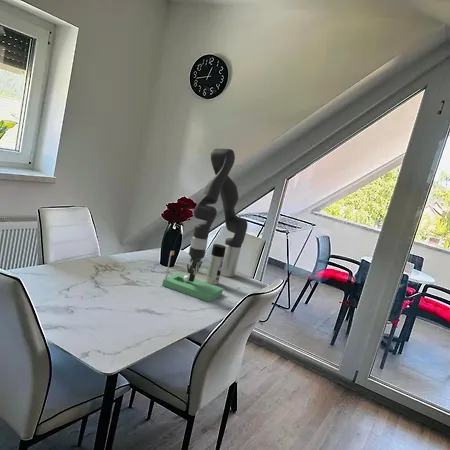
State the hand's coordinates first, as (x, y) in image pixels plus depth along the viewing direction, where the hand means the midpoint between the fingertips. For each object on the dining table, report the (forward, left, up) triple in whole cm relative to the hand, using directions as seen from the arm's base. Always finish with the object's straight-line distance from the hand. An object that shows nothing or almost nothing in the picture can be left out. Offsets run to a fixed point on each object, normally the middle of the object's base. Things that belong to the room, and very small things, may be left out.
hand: (191, 281), depth 203 cm
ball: (0, -3, 0) cm, 3 cm away
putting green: (0, +1, -4) cm, 4 cm away
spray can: (-19, +3, -4) cm, 20 cm away
